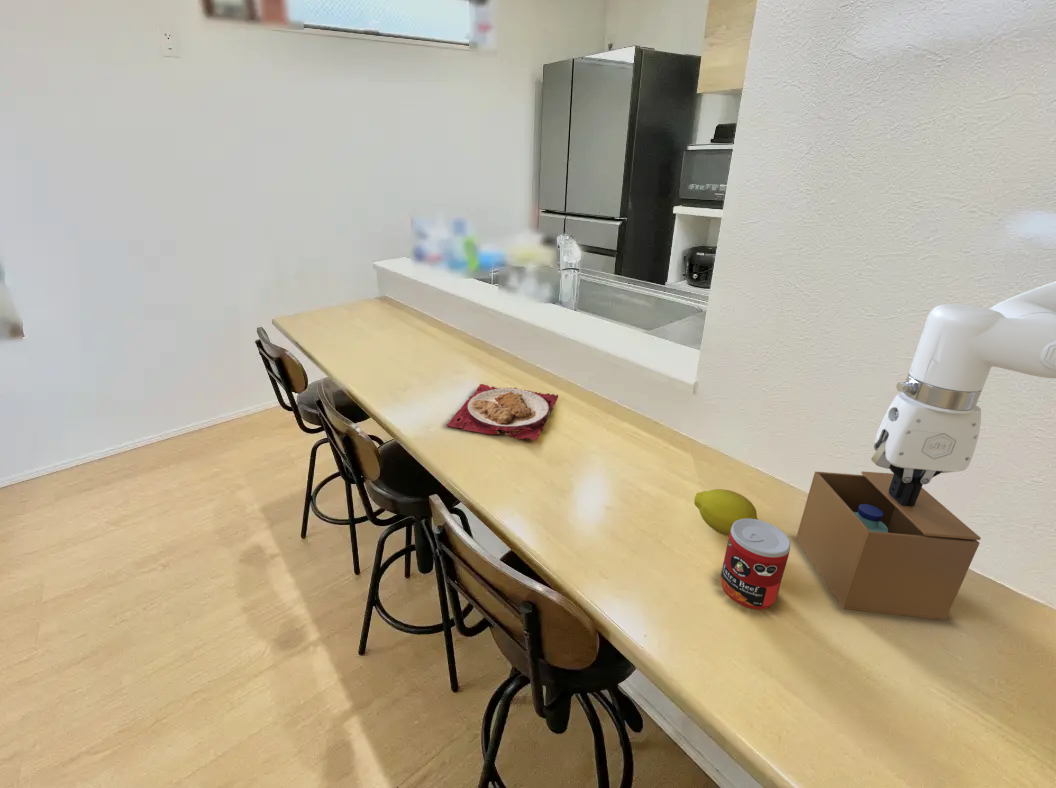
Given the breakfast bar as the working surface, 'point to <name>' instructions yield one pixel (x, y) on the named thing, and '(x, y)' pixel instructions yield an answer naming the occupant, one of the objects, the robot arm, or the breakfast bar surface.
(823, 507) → the carton
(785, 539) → the canned food
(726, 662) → the breakfast bar surface
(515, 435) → the plate with food
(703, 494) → the lemon
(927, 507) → the flap
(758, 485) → the breakfast bar surface
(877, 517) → the bottle
